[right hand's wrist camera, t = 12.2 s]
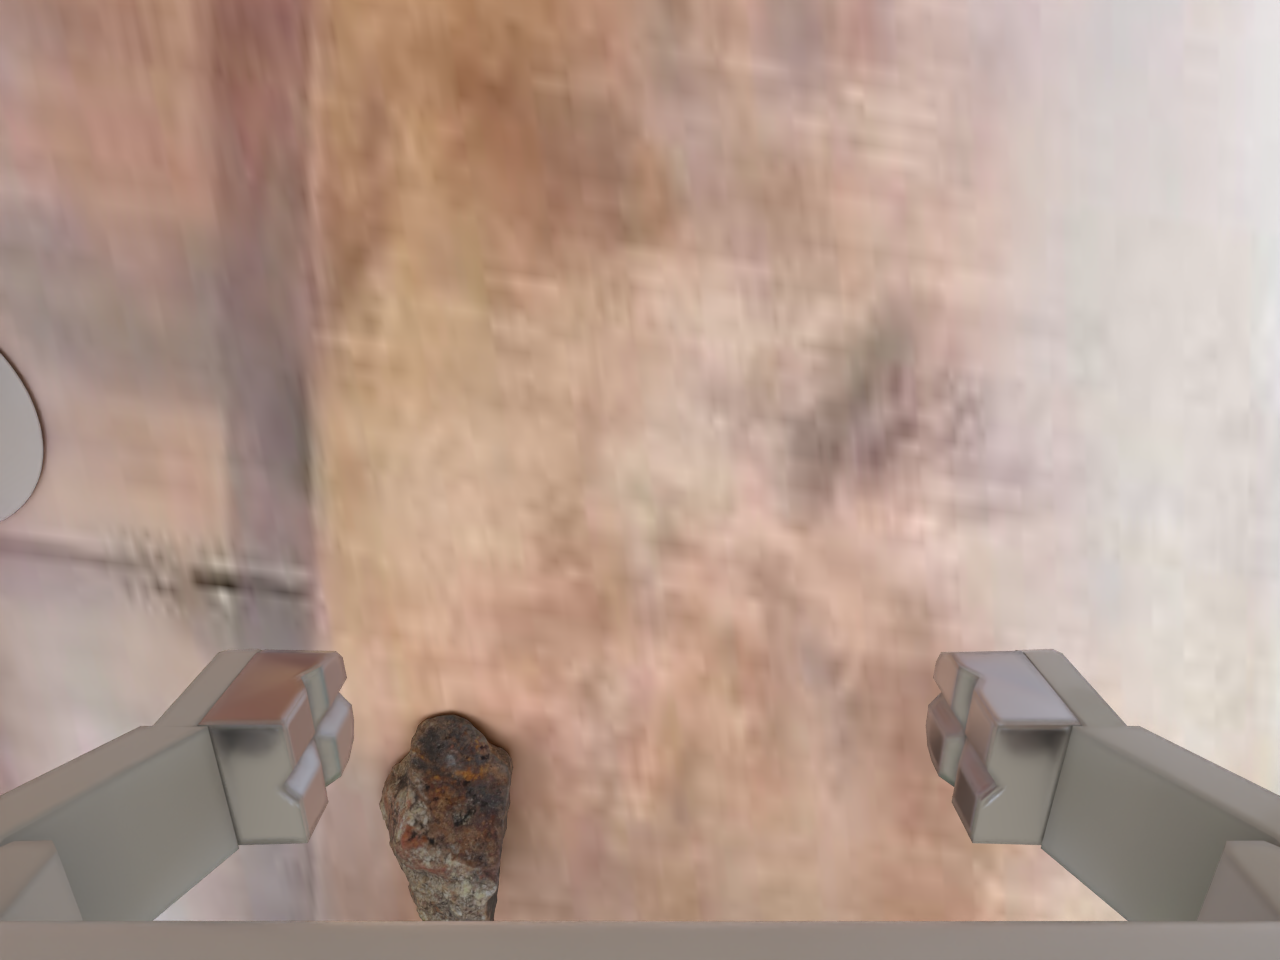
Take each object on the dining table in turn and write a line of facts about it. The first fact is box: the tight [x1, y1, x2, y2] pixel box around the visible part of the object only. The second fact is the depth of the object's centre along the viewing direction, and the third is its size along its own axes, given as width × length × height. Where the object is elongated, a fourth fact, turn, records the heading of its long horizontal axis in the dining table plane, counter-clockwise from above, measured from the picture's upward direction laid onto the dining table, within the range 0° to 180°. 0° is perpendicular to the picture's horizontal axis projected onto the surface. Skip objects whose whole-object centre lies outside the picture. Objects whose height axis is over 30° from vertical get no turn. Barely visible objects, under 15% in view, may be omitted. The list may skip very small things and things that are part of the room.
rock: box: [380, 715, 513, 921], centre depth 50 cm, size 14×9×10 cm
